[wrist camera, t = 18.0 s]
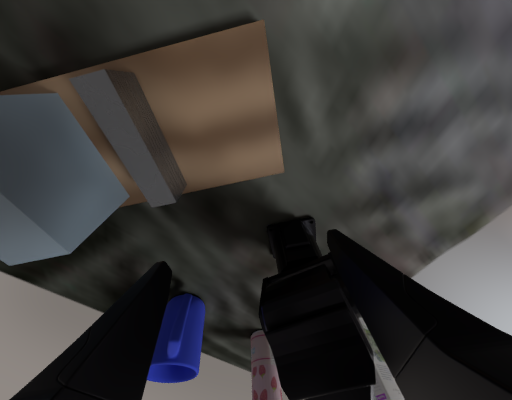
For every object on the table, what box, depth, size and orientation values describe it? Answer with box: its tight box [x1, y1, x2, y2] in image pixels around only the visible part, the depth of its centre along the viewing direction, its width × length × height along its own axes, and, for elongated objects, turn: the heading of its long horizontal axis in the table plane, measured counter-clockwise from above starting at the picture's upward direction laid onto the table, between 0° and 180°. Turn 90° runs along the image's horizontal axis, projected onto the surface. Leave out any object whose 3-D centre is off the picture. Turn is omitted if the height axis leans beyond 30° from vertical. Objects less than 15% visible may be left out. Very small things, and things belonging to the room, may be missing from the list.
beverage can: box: [251, 330, 282, 400], centre depth 36 cm, size 6×6×15 cm
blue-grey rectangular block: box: [0, 93, 130, 266], centre depth 14 cm, size 10×5×8 cm, turn 12°
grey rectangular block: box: [69, 69, 187, 208], centre depth 15 cm, size 10×2×4 cm, turn 12°
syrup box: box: [359, 317, 405, 400], centre depth 31 cm, size 6×6×14 cm
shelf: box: [0, 20, 284, 208], centre depth 15 cm, size 12×28×6 cm, turn 102°
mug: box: [147, 293, 205, 383], centre depth 29 cm, size 8×12×10 cm
